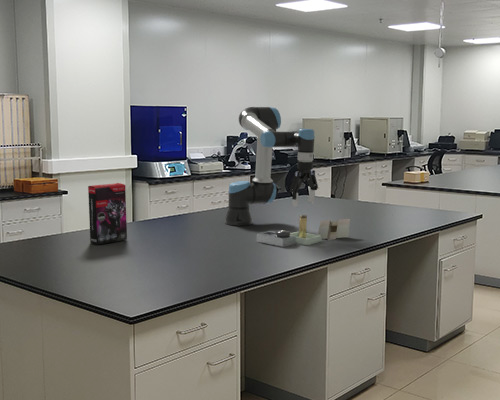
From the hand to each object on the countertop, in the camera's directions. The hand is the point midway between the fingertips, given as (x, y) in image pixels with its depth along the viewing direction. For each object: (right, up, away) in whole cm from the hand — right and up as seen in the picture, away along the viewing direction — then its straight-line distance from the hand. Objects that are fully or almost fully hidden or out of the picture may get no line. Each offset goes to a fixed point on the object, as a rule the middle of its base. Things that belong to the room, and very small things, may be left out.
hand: (303, 204), depth 297 cm
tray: (0, -18, +3) cm, 18 cm away
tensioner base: (-14, -18, -2) cm, 23 cm away
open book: (+17, -17, +13) cm, 27 cm away
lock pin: (0, -17, +2) cm, 17 cm away
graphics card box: (-93, -18, -9) cm, 95 cm away
